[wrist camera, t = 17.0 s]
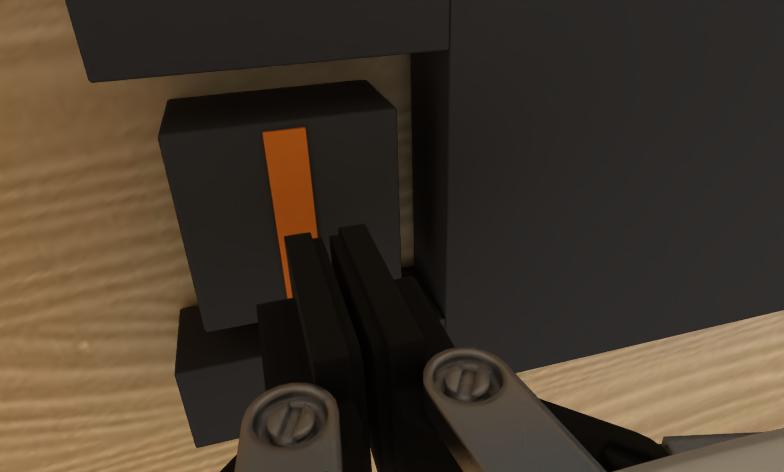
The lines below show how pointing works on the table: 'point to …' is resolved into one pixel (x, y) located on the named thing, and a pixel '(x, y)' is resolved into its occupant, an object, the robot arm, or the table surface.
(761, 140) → the black notched block
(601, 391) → the table surface
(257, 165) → the tile
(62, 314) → the table surface
